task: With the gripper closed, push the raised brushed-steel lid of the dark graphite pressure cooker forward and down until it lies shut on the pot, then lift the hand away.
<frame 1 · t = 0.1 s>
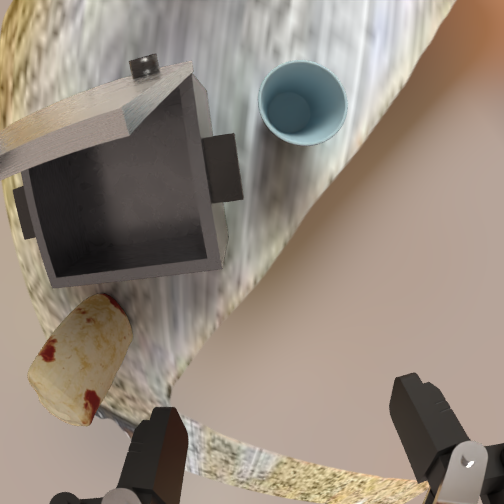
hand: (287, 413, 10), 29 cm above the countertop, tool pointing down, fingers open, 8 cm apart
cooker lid: (22, 123, 14), point 20 cm above the countertop, hinge at 70.0°
food model: (113, 311, 42), on the countertop
cooker pot: (137, 178, 36), on the countertop
cup: (288, 112, 33), on the countertop
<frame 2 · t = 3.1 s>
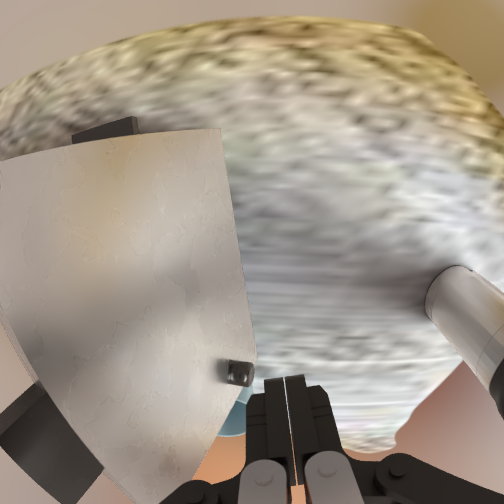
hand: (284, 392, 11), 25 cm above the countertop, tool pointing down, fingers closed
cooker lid: (172, 336, 15), point 20 cm above the countertop, hinge at 70.0°
cooker pot: (157, 237, 35), on the countertop
cup: (228, 361, 41), on the countertop
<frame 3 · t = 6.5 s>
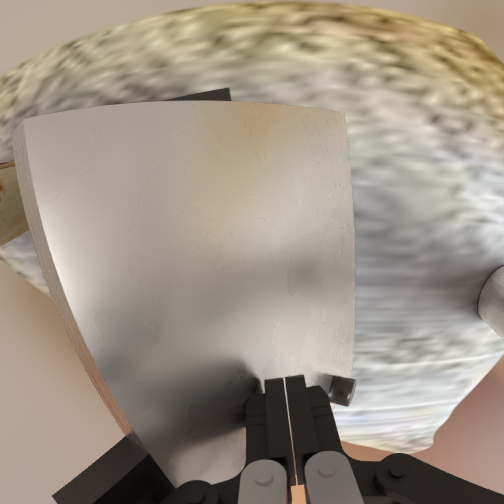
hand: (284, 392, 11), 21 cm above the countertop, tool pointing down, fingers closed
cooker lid: (295, 359, 13), point 20 cm above the countertop, hinge at 57.0°, touching gripper
food model: (55, 185, 29), on the countertop
cooker pot: (223, 236, 31), on the countertop
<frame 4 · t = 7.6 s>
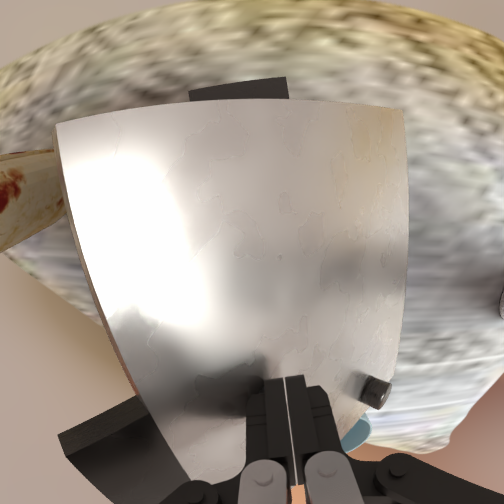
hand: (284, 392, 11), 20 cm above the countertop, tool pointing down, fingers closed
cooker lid: (322, 353, 13), point 18 cm above the countertop, hinge at 41.8°, touching gripper
food model: (73, 179, 27), on the countertop
cooker pot: (259, 235, 30), on the countertop
cup: (318, 374, 36), on the countertop
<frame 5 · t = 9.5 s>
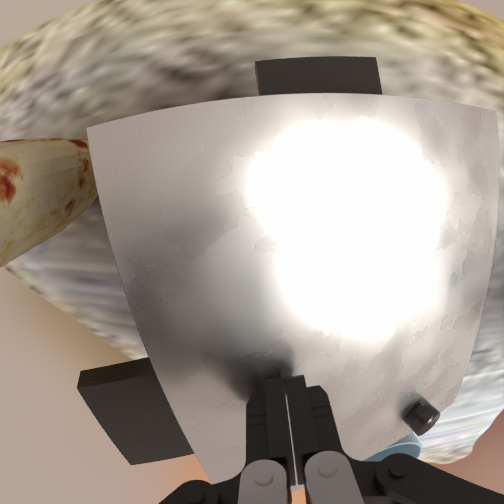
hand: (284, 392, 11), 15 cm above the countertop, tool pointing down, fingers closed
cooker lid: (356, 363, 12), point 14 cm above the countertop, hinge at 16.9°, touching gripper
food model: (83, 176, 23), on the countertop
cooker pot: (311, 246, 25), on the countertop
cup: (359, 394, 32), on the countertop
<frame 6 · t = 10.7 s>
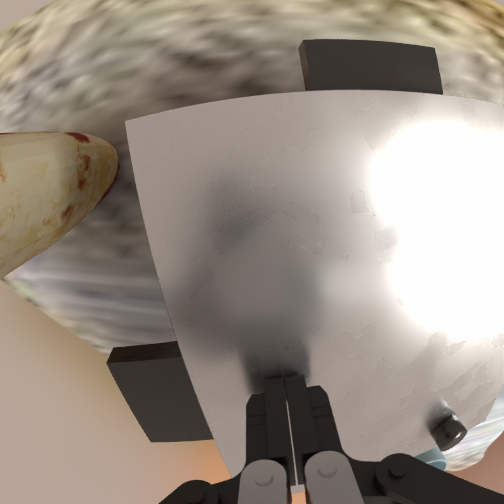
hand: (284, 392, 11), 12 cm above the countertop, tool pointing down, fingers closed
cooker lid: (386, 369, 11), point 12 cm above the countertop, hinge at 4.5°, touching gripper
food model: (83, 176, 20), on the countertop
cooker pot: (341, 256, 22), on the countertop
cup: (381, 408, 29), on the countertop
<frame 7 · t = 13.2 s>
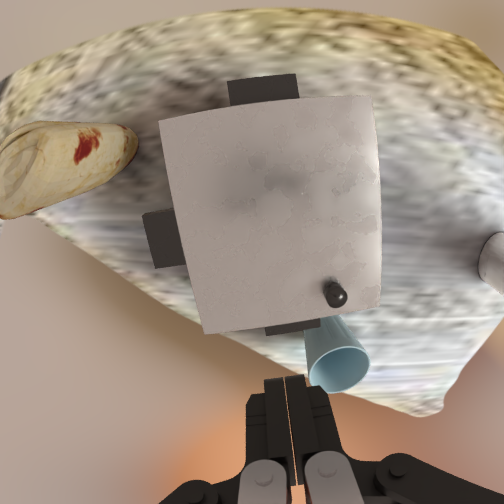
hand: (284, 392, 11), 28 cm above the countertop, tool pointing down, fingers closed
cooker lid: (266, 224, 26), point 11 cm above the countertop, hinge at -0.1°
food model: (115, 152, 34), on the countertop
cooker pot: (271, 197, 37), on the countertop
cup: (321, 323, 43), on the countertop
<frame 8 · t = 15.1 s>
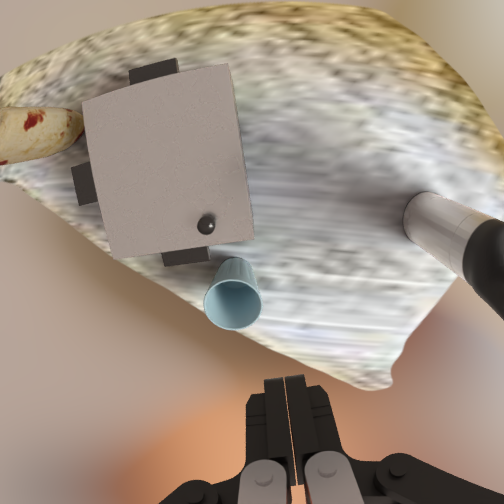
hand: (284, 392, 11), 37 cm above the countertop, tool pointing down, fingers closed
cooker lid: (148, 167, 33), point 11 cm above the countertop, hinge at -0.1°
food model: (71, 131, 41), on the countertop
cooker pot: (181, 159, 43), on the countertop
cup: (235, 272, 50), on the countertop
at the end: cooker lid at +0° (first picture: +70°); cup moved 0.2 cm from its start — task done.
